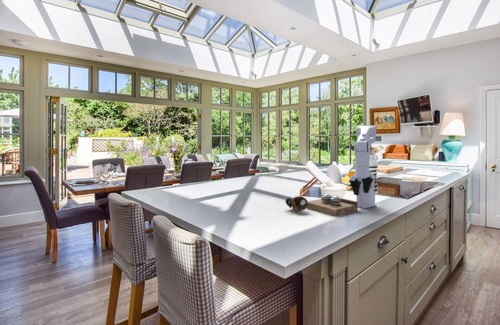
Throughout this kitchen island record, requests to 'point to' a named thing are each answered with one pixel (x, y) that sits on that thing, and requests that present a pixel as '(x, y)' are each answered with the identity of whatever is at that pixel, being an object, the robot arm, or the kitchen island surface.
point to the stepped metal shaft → (335, 200)
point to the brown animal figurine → (296, 203)
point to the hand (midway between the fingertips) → (361, 193)
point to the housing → (333, 206)
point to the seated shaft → (326, 198)
